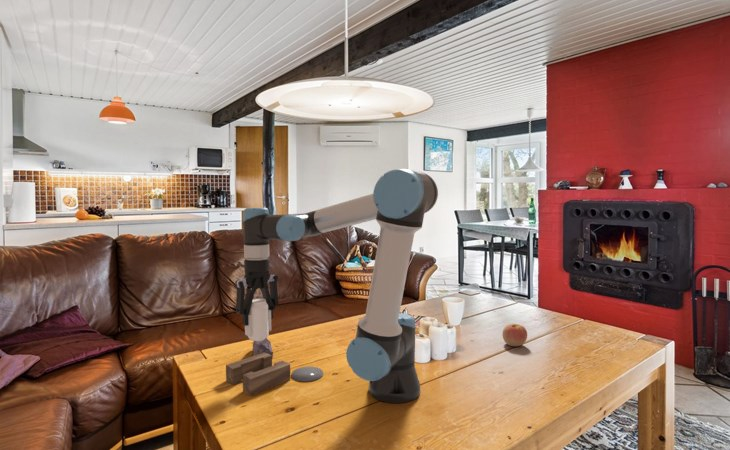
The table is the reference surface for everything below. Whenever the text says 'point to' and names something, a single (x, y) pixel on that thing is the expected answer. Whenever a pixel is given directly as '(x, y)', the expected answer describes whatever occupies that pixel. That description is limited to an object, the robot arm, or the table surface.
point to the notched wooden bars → (257, 373)
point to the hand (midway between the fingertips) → (258, 332)
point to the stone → (262, 347)
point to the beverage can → (259, 320)
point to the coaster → (307, 374)
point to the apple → (514, 334)
